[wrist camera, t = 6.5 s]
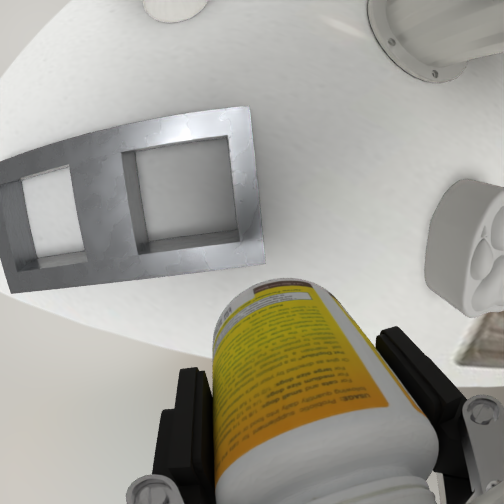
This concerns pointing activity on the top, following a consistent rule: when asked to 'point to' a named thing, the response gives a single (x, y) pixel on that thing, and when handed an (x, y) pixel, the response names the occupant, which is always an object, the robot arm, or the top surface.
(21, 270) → the cinder block
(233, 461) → the supplement bottle
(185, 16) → the beer glass
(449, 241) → the lumpy-topped squat cylinder
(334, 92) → the top surface
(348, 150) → the top surface
